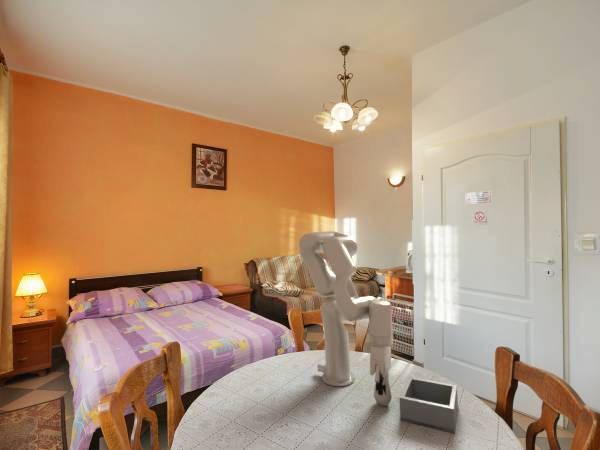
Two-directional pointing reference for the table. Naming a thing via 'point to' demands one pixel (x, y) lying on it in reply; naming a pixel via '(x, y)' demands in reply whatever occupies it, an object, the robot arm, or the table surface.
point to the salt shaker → (383, 398)
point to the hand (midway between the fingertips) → (382, 392)
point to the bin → (429, 404)
